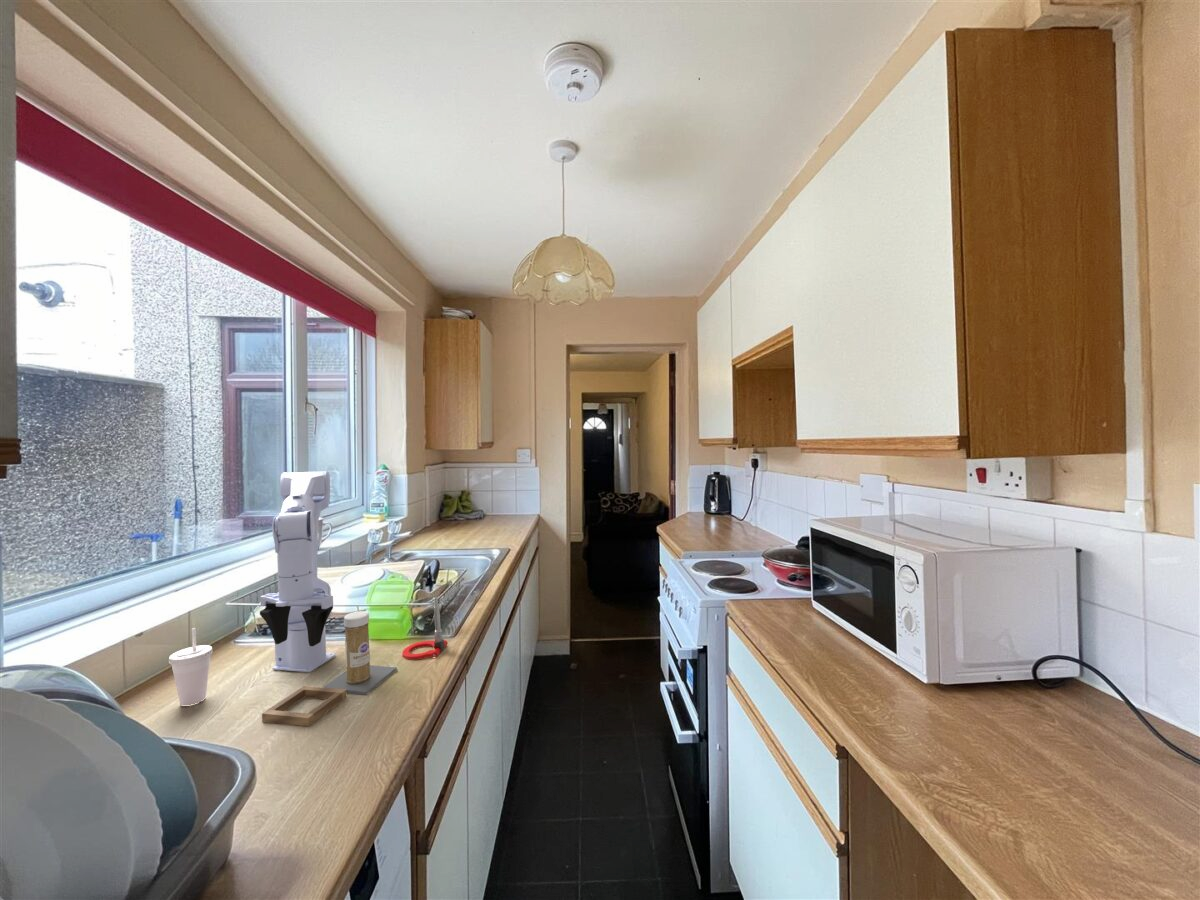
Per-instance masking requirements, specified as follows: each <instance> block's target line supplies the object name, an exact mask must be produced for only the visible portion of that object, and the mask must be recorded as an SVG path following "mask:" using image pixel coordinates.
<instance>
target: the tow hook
mask: <svg viewBox="0 0 1200 900" xmlns="http://www.w3.org/2000/svg"><path fill="white" fill-rule="evenodd" d="M438 601H439V600H438V596H434V597H433V603H434V604H433V605H434V606H433V615H434V627H435V629H434V640H424V641H419V642H415V643H412V644H410V645H408V646H406V647H405V648H404V649H403V650H402V652H401V656H402V658H404V659H405V660H410V659H415V660H420V659H422V660H423V659H425V658H432V657H436V658H437V657H438V656H439V655H441V653H442V652H443V651H444V650H445V648H446V646H448V640H445V639H444V638H443V630H442V628H441V615H440V606H439V602H438ZM423 646H424V647H431V648H433V649H429V650H427V651H424V652H419V653H411V652H412V651H414V650H416V649H418V647H419V648H424V647H423ZM415 648H416V649H415ZM413 649H414V650H413ZM410 651H411V652H410Z"/></svg>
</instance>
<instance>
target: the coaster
mask: <svg viewBox="0 0 1200 900" xmlns="http://www.w3.org/2000/svg"><path fill="white" fill-rule="evenodd" d="M397 670H398V668H397V667H396V666H386V665H385V666H383V665H371V664H370V674H371V675H370V677H369V679H367V680H365V681H363V682H361V683H356V684H351V683H348V682H347V681H346V678H347V669H346V670H345V671H343V672H342V673H340V674H339V675H338V676H336V677H335V678H334V679H332V680H330V681H329V682H328V683H326V684H325V685H323V686H322V688H334V689H346V694H350V695H352V694H353V695H364V696H367V695H368V694H369V693H371V692H372V691H373V690H374V689H376V688H377V687H378V686H379V685H380V684H382V683H383V682H384V681H386V679H388V678H389V677H390V676H391V675H393V674H394V673H395V672H396V671H397Z"/></svg>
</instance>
